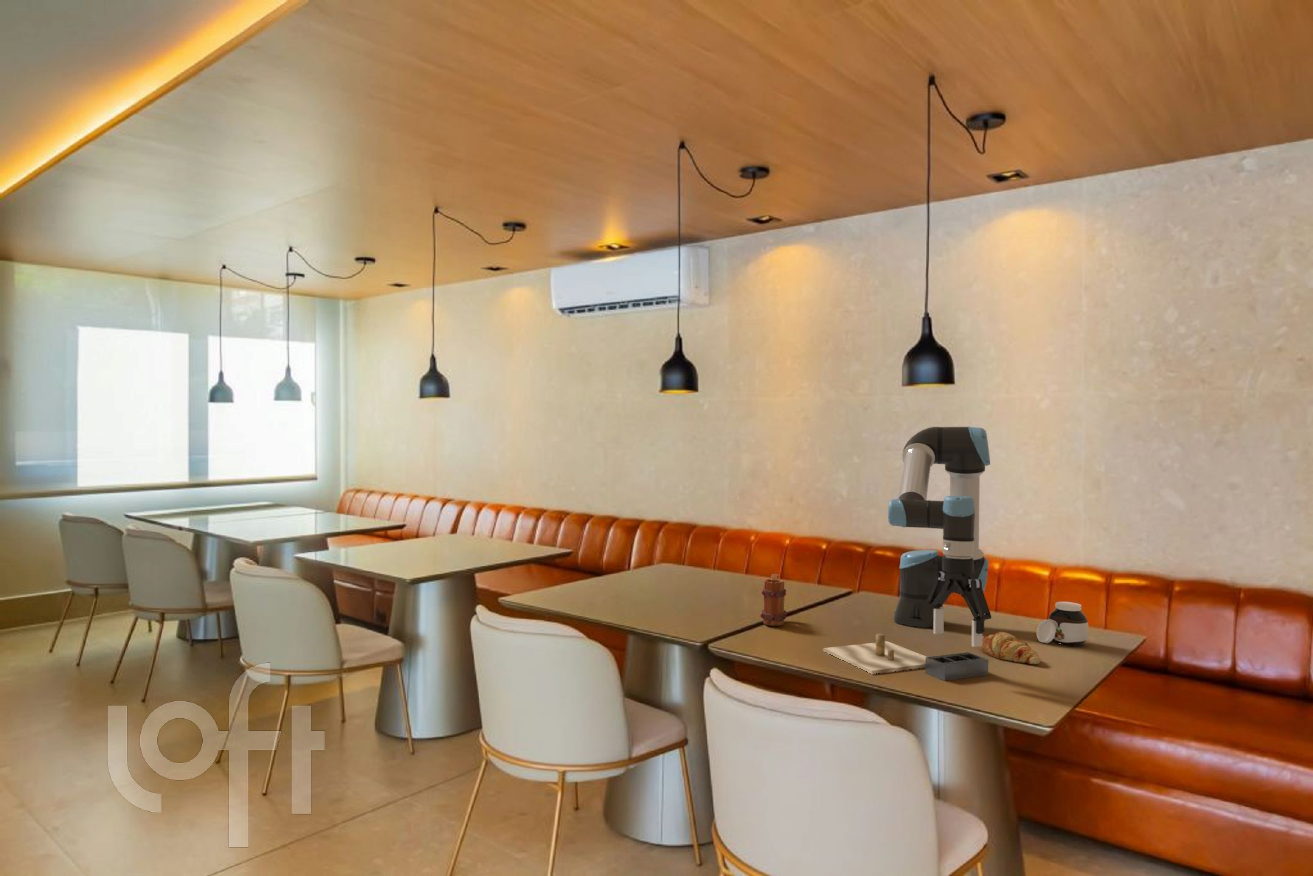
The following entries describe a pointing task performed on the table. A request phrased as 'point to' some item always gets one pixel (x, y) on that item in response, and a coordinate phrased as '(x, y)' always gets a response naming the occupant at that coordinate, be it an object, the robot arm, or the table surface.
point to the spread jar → (1064, 625)
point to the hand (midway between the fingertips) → (957, 639)
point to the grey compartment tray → (956, 666)
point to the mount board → (879, 656)
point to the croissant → (1008, 648)
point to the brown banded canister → (773, 601)
